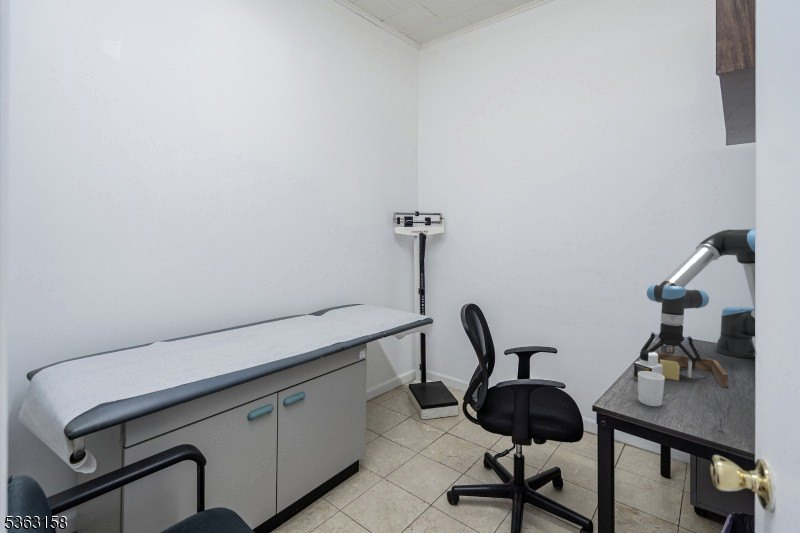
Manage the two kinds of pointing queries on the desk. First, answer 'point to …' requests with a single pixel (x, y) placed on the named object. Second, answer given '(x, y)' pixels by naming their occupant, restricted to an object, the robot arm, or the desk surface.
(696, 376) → the mat
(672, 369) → the cube
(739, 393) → the desk surface
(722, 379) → the angled wooden barrier
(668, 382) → the desk surface
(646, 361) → the medicine bottle
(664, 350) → the pill bottle
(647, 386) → the white cup
